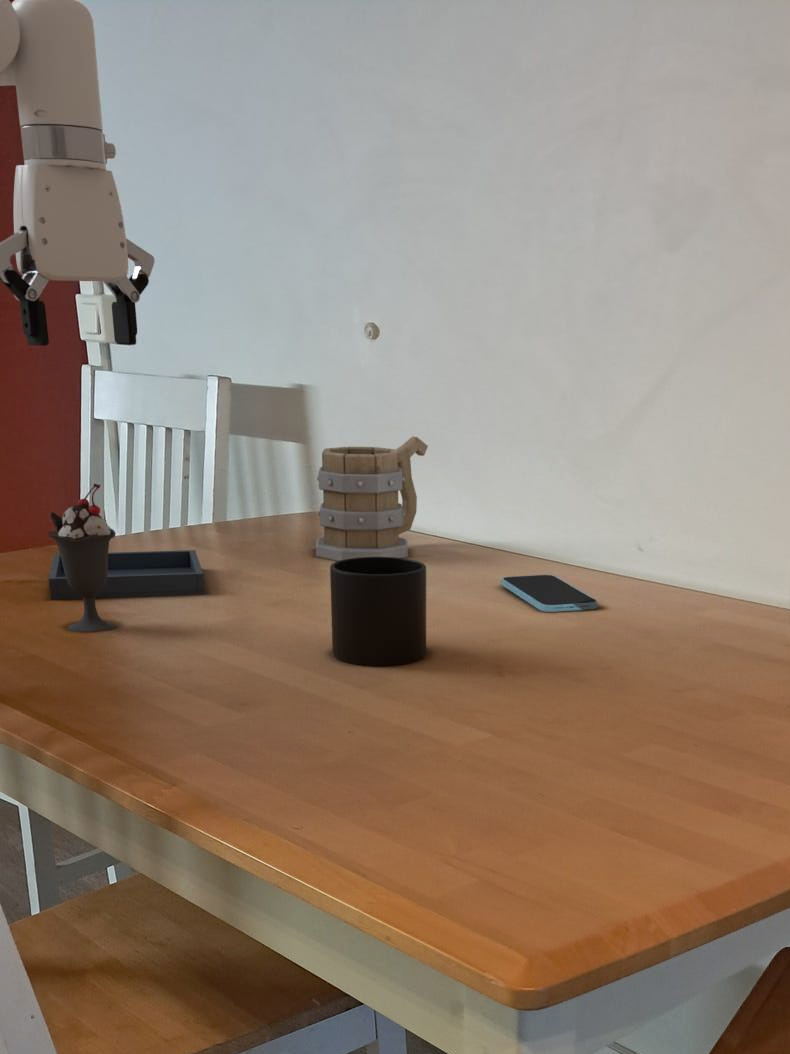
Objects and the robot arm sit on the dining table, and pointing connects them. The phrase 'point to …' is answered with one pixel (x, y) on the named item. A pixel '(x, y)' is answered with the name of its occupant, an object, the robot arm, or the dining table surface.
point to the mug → (378, 610)
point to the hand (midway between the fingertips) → (83, 344)
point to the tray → (138, 575)
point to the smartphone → (549, 593)
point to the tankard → (367, 501)
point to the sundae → (84, 557)
